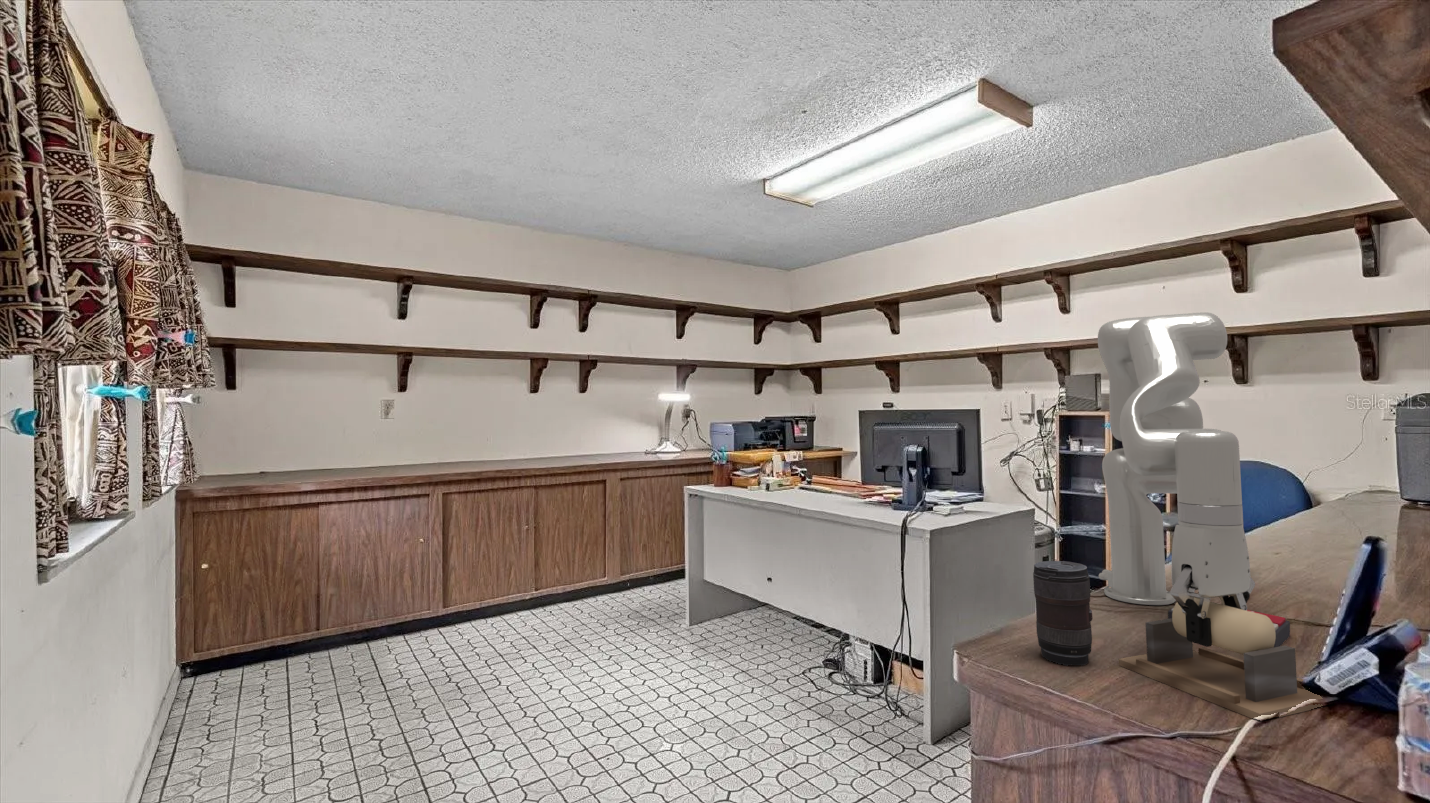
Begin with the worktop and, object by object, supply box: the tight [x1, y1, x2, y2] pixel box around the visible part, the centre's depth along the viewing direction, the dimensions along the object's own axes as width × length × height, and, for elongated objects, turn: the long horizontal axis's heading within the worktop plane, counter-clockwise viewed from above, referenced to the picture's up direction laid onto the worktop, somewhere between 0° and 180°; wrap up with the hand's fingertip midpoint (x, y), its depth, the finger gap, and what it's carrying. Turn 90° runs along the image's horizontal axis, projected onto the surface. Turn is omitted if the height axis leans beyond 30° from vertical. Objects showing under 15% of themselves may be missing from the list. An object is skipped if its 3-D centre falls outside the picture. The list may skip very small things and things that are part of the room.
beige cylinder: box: [1172, 598, 1276, 656], centre depth 92 cm, size 10×6×6 cm
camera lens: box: [1032, 560, 1093, 666], centre depth 104 cm, size 8×8×15 cm
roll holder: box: [1118, 618, 1323, 719], centre depth 93 cm, size 20×14×7 cm
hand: (1216, 639), depth 93 cm, fingers closed on beige cylinder, 6 cm apart
